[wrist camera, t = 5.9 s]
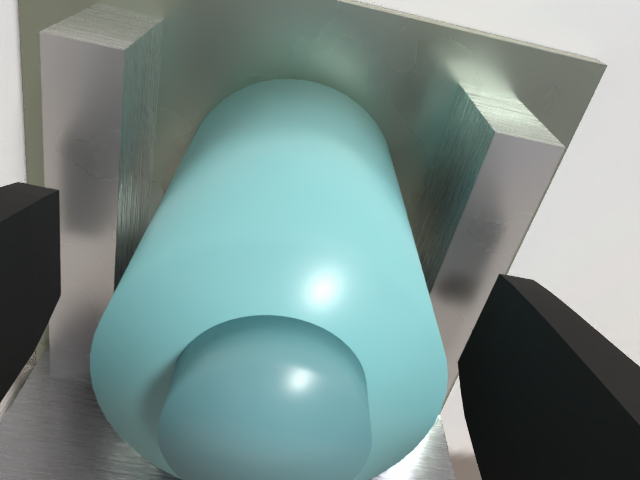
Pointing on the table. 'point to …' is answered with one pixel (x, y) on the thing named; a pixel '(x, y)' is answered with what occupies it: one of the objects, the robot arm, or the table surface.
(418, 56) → the motor
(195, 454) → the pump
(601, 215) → the table surface
